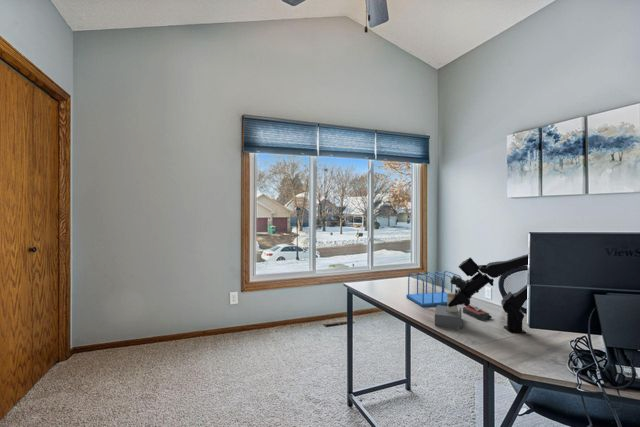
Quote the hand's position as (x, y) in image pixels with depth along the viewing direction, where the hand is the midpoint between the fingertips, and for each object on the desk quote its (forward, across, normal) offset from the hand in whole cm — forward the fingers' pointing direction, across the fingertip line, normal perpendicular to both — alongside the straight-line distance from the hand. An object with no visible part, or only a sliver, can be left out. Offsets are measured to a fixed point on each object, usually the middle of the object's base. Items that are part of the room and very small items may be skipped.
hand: (448, 305), depth 150 cm
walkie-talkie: (-2, -17, +13) cm, 22 cm away
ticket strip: (+4, 0, +6) cm, 8 cm away
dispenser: (+5, 0, +5) cm, 8 cm away
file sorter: (+12, -32, 0) cm, 34 cm away
